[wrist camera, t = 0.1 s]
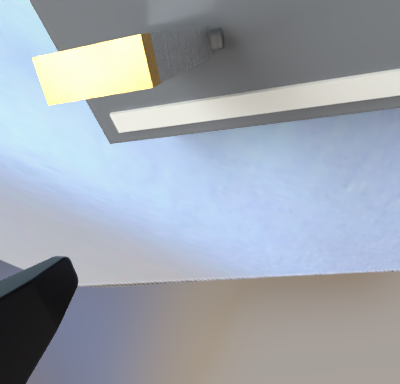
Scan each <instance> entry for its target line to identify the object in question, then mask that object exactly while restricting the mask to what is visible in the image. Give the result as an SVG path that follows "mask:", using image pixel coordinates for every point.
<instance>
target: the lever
mask: <svg viewBox="0 0 400 384" xmlns="http://www.w3.org/2000/svg"><path fill="white" fill-rule="evenodd" d="M224 47H225V41H224V34H223V31H222V28H217V29H212V30H210V29H209V25H202V26H195V27H188V28H181V29H174V30H167V31H160V32H153V33H145V34H139V35H134V36H130V37H125V38H121V39H116V40H112V41H107V42H102V43H98V44H93V45H89V46H84V47H79V48H75V49H70V50H66V51H61V52H56V53H52V54H47V55H43V56H38V57H33V58H32V60H33V62H34V65H35V68H36V71H37V74H38V77H39V79H40V82H41V85H42V88H43V91H44V94H45V97H46V99H47V102H48V105H54V104H60V103H66V102H72V101H77V100H83V99H89V98H95V97H101V96H107V95H113V94H119V93H125V92H131V91H137V90H142V89H148V88H153V87H155V86H157V85H159V84H161V83H163V82H165V81H167V80H169V79H171V78H173V77H175V76H177V75H178V74H180V73H182V72H184V71H186V70H188V69H190V68H192V67H194V66H196V65H198V64H200V63H202V62H204V61H205V60H207V59H209V58H211V57H213V56H214V54H213V51H214V50H219V49H224Z"/></svg>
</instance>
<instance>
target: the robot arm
mask: <svg viewBox="0 0 400 384" xmlns="http://www.w3.org/2000/svg"><path fill="white" fill-rule="evenodd" d="M77 285H78V277H77V274H76V272H75V269H74V267H73V265H72V262H71V260H70V259H69V258H68V257H63V256H55V257H52V258H50V259H48V260H45V261H43V262H41V263H39V264H37V265H34V266H32V267H30V268H28V269H25V270H23V271H21V272H19V273H17V274H14V275H12V276H10V277H8V278H6V279H3V280H1V281H0V384H26V382H27V381H28V379H29V377H30V376H31V374H32V372H33V370H34V369H35V367H36V365H37V364H38V362H39V360H40V359H41V357H42V355H43V353H44V352H45V350H46V348H47V347H48V345H49V343H50V342H51V340H52V338H53V336H54V335H55V333H56V331H57V329H58V327H59V325H60V323H61V321H62V319H63V317H64V314H65V312H66V310H67V308H68V306H69V304H70V301H71V299H72V297H73V295H74V293H75V290H76V288H77Z"/></svg>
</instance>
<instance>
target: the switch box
mask: <svg viewBox="0 0 400 384" xmlns="http://www.w3.org/2000/svg"><path fill="white" fill-rule="evenodd" d="M30 2H31V4H32V5H33V7H34V9H35V11H36V13H37V14H38V16H39V18H40V20H41V21H42V23H43V25H44V27H45V29H46V30H47V32H48V34H49V36H50V37H51V39H52V41H53V43H54V45H55V46H56V48H57V50H58V52H61V51H66V50H70V49H75V48H79V47H84V46H89V45H93V44H98V43H102V42H107V41H112V40H116V39H121V38H125V37H130V36H134V35H139V34H145V33H153V32H160V31H167V30H174V29H181V28H188V27H195V26H202V25H209V29H210V30H212V29H217V28H222V31H223V34H224V41H225V47H224V49H219V50H214V51H213V54H214V56H213V57H211V58H209V59H207V60H205V61H204V62H202V63H200V64H198V65H196V66H194V67H192V68H190V69H188V70H186V71H184V72H182V73H180V74H178V75H177V76H175V77H173V78H171V79H169V80H167V81H165V82H163V83H161V84H159V85H157V86H155V87H153V88H148V89H142V90H137V91H131V92H125V93H119V94H113V95H107V96H101V97H95V98H89V99H85V100H86V102H87V103H88V105H89V107H90V109H91V110H92V112H93V114H94V116H95V118H96V119H97V121H98V123H99V125H100V126H101V128H102V130H103V132H104V134H105V135H106V137H107V139H108V141H109V142H110V144H113V143H121V142H129V141H137V140H145V139H153V138H161V137H169V136H177V135H185V134H193V133H201V132H209V131H217V130H225V129H233V128H241V127H249V126H257V125H265V124H273V123H281V122H289V121H297V120H305V119H313V118H321V117H329V116H337V115H345V114H353V113H361V112H369V111H377V110H385V109H393V108H400V0H30Z"/></svg>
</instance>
